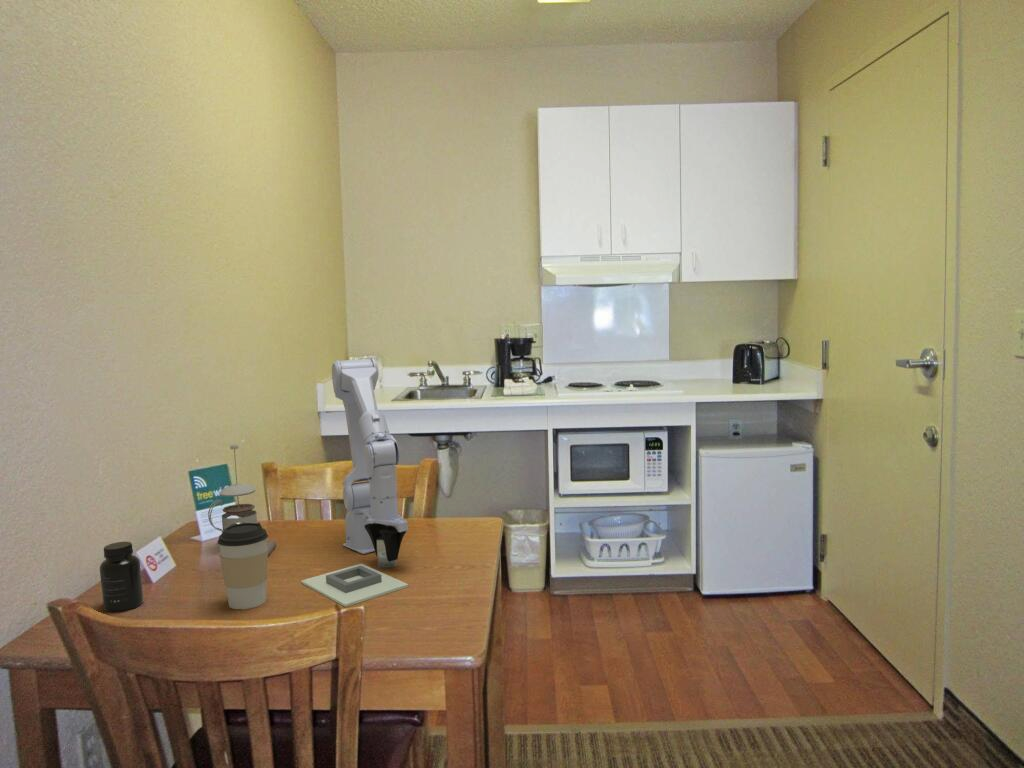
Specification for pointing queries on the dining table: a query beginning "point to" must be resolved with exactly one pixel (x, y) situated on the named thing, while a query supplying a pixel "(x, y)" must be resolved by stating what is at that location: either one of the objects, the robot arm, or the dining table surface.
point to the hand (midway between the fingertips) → (386, 557)
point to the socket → (354, 584)
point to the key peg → (383, 555)
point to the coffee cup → (244, 564)
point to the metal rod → (271, 546)
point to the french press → (236, 510)
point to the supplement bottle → (120, 578)
